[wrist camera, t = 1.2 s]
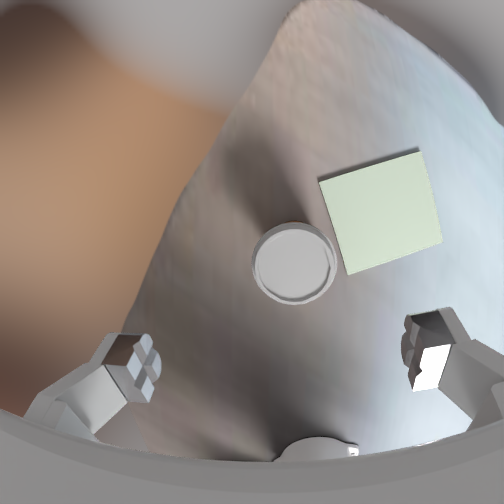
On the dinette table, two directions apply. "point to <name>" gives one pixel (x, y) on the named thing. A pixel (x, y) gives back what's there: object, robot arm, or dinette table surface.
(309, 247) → the disposable coffee cup
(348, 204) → the mat
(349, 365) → the dinette table surface
